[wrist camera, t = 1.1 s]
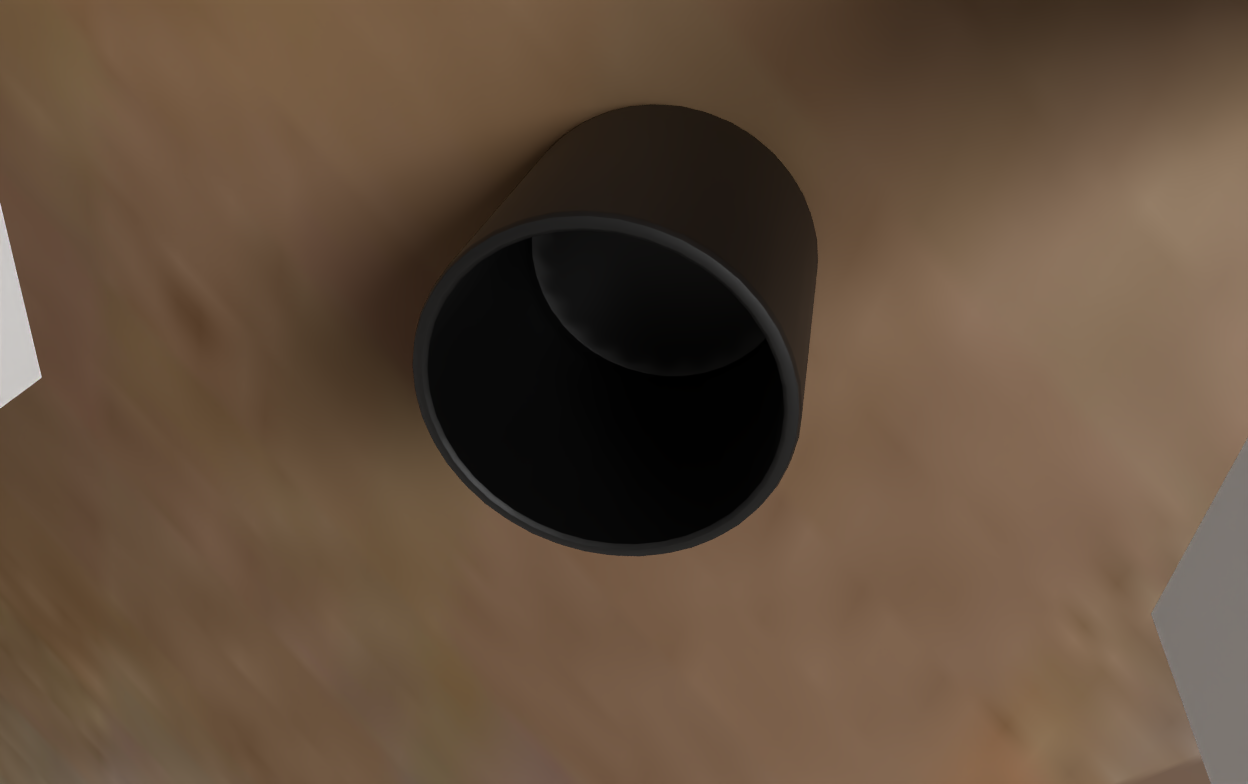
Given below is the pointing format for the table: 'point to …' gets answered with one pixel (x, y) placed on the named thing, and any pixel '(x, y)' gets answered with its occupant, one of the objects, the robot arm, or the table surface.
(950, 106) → the table surface
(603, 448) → the mug
